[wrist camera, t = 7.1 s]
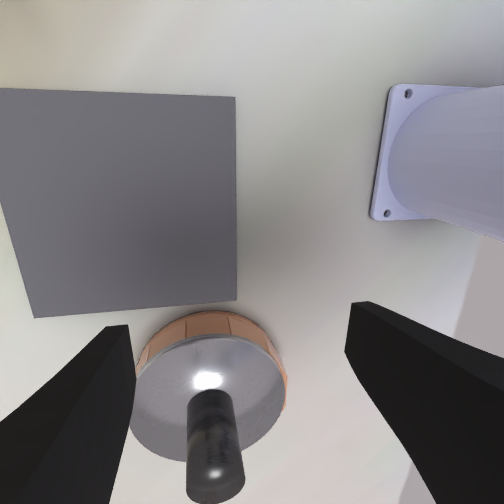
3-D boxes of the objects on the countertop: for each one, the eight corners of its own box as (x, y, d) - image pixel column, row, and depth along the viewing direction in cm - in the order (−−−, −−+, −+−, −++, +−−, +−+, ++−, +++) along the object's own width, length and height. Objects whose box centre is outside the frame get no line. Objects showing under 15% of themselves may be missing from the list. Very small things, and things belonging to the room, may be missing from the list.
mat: (233, 98, 16) (235, 97, 15) (235, 295, 20) (236, 300, 20) (-25, 88, 14) (-34, 86, 13) (38, 312, 18) (34, 318, 18)
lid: (260, 310, 18) (287, 377, 13) (295, 418, 21) (327, 501, 16) (100, 368, 17) (64, 462, 12) (165, 469, 21) (158, 571, 16)
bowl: (277, 304, 21) (290, 329, 18) (272, 409, 25) (282, 443, 22) (128, 318, 19) (118, 348, 17) (146, 429, 23) (140, 469, 20)
